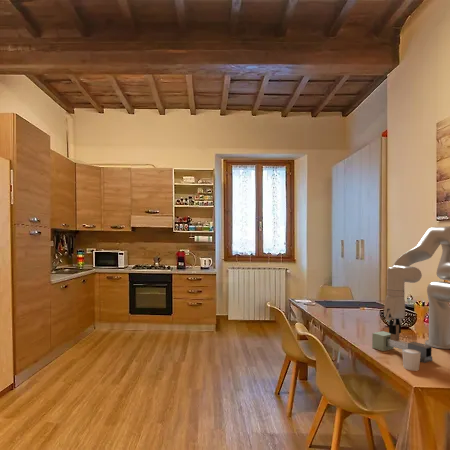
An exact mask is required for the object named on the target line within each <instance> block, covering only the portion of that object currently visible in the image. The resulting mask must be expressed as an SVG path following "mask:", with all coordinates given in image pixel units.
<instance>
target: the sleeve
mask: <svg viewBox="0 0 450 450" xmlns="http://www.w3.org/2000/svg"><path fill="white" fill-rule="evenodd" d="M432 348H433V347H432V346H429V345H426V344H425V343H420V342H417V341H411V342H408V349H413V350H417V351H420V352H421V355H420V362H421V363H423V364H425V363H428V362H432V361H433V356H432V354H433V353H432V351H433V349H432Z"/></svg>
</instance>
